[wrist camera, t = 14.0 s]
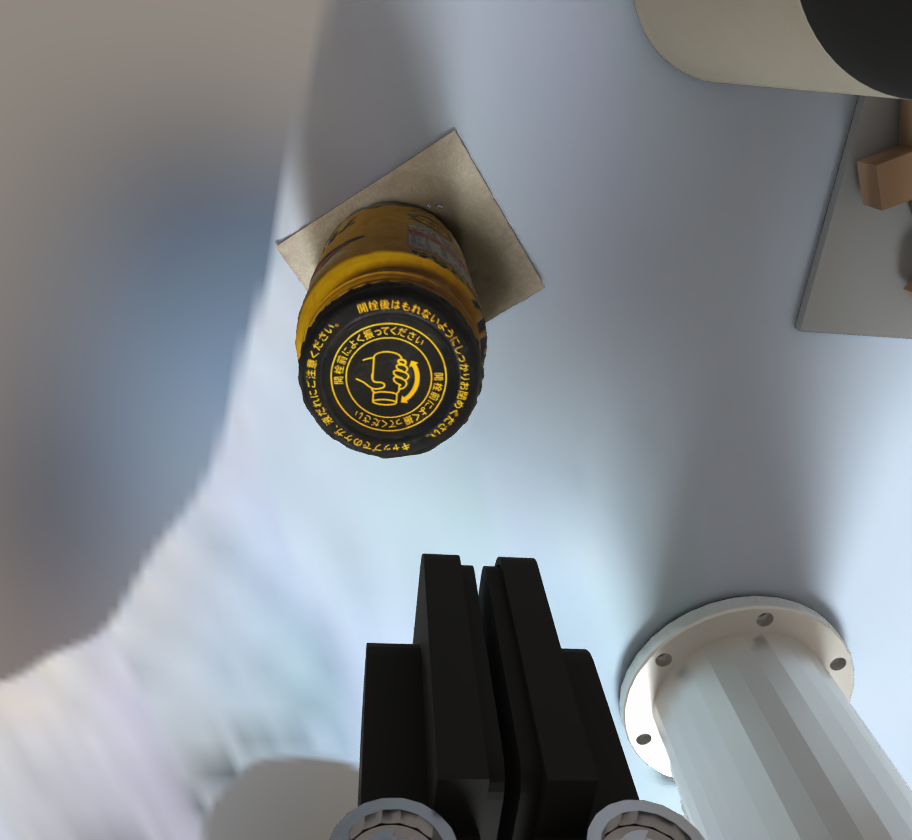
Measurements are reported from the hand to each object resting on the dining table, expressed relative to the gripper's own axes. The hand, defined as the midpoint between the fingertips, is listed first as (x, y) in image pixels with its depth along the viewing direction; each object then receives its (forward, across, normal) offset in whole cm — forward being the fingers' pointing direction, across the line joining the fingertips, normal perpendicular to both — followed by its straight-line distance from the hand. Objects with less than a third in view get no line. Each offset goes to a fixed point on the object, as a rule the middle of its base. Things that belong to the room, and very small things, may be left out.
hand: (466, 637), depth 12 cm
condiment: (+24, 0, 0) cm, 24 cm away
